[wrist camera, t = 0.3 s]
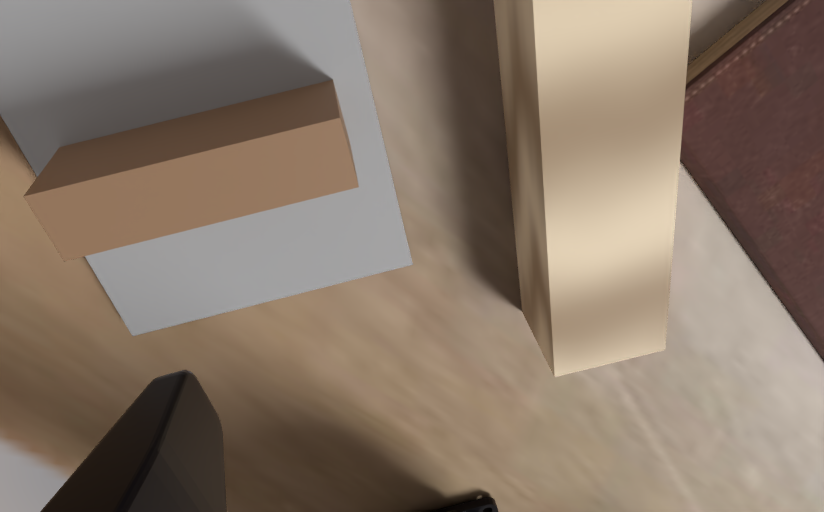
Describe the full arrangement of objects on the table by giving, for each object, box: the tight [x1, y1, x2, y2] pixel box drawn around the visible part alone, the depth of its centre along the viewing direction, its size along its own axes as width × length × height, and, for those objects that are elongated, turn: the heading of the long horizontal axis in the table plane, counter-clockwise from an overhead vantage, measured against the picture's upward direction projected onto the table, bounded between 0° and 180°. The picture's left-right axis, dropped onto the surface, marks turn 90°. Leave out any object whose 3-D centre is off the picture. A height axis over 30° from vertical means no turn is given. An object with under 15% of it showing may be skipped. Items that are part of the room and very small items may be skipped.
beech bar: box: [494, 0, 692, 377], centre depth 19 cm, size 18×4×4 cm, turn 10°
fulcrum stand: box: [0, 0, 413, 336], centre depth 18 cm, size 12×10×4 cm
